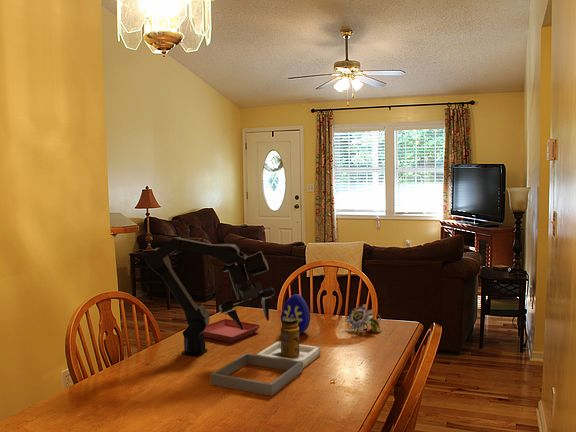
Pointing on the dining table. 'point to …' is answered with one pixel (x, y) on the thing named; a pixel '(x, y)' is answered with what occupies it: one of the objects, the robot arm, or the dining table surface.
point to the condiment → (289, 339)
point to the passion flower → (362, 319)
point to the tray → (306, 350)
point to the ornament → (297, 311)
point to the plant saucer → (229, 330)
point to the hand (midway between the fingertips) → (255, 325)
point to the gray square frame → (270, 389)
